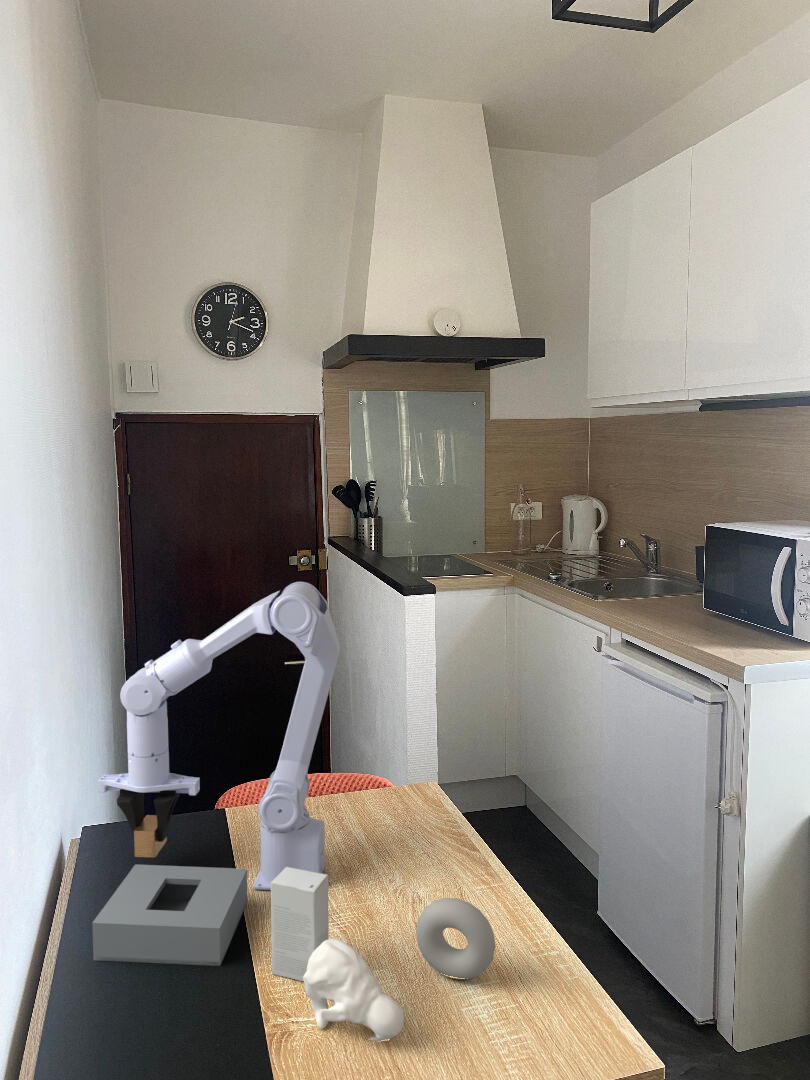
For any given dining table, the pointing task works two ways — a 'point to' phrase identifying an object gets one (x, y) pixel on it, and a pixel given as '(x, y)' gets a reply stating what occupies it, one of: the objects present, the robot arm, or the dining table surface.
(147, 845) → the brown wooden block
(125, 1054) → the dining table surface
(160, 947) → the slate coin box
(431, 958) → the donut
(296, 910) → the skincare box
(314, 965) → the white animal sculpture
